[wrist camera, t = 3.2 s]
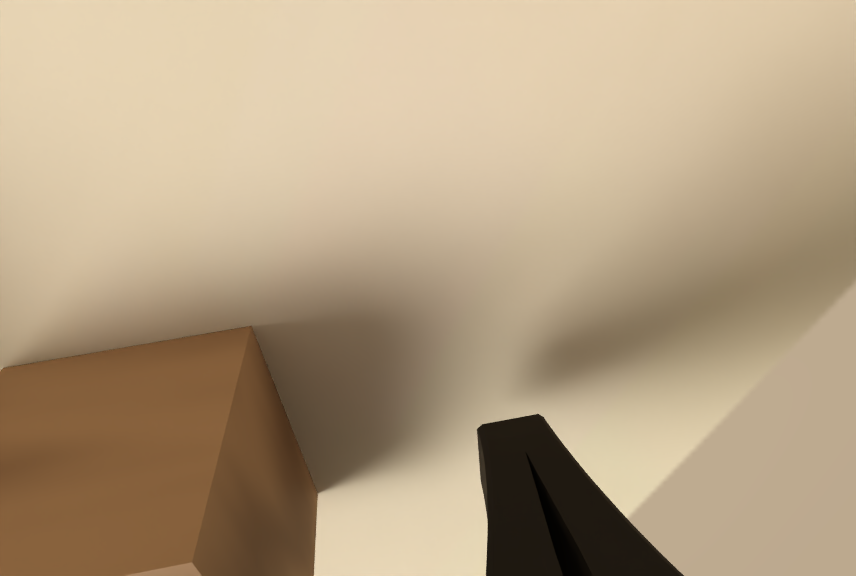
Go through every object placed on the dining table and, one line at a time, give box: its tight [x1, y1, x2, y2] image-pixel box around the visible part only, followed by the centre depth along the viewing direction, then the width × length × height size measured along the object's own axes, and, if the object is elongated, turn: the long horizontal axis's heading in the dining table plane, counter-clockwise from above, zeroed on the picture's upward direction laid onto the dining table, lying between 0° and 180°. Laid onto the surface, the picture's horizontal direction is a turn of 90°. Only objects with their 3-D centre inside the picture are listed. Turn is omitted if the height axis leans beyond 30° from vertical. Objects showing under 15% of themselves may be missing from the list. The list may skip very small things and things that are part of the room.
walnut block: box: [0, 326, 318, 576], centre depth 10 cm, size 6×5×5 cm
